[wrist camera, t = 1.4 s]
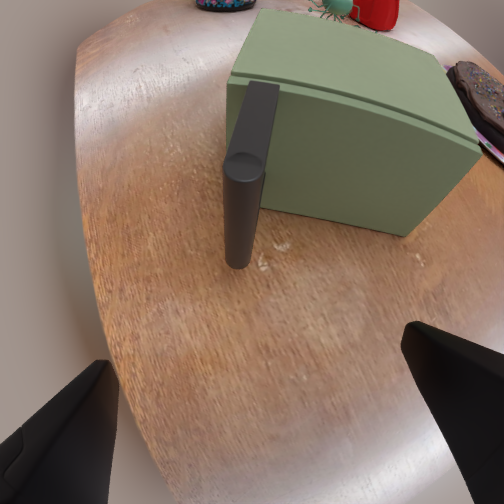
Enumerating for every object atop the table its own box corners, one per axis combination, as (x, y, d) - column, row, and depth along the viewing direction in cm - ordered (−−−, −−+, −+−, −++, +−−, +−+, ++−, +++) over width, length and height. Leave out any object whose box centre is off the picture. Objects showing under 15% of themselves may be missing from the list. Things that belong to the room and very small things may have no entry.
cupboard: (404, 228, 25) (479, 141, 14) (228, 192, 25) (230, 70, 14) (391, 137, 30) (434, 55, 19) (252, 106, 30) (261, 7, 19)
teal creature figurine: (372, 74, 36) (390, -13, 23) (272, 39, 42) (272, -37, 28) (391, 58, 39) (407, -14, 26) (302, 27, 45) (305, -40, 32)
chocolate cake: (547, 217, 29) (572, 196, 23) (415, 103, 34) (433, 68, 28) (535, 134, 39) (549, 116, 33) (438, 56, 44) (448, 34, 38)
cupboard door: (408, 311, 22) (516, 249, 11) (207, 280, 22) (187, 174, 11) (405, 229, 25) (483, 142, 14) (228, 194, 25) (229, 69, 14)
